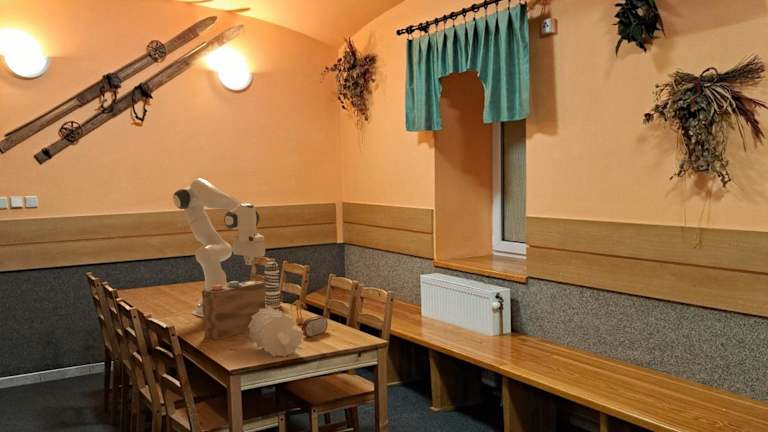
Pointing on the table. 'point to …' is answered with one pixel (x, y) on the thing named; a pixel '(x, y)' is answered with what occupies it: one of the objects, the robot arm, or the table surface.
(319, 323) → the tin
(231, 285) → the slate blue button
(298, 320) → the figurine
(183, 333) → the table surface
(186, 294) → the table surface
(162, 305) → the table surface
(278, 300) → the decorative candle
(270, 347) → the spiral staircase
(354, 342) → the table surface
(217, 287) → the terracotta button
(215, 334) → the button console
